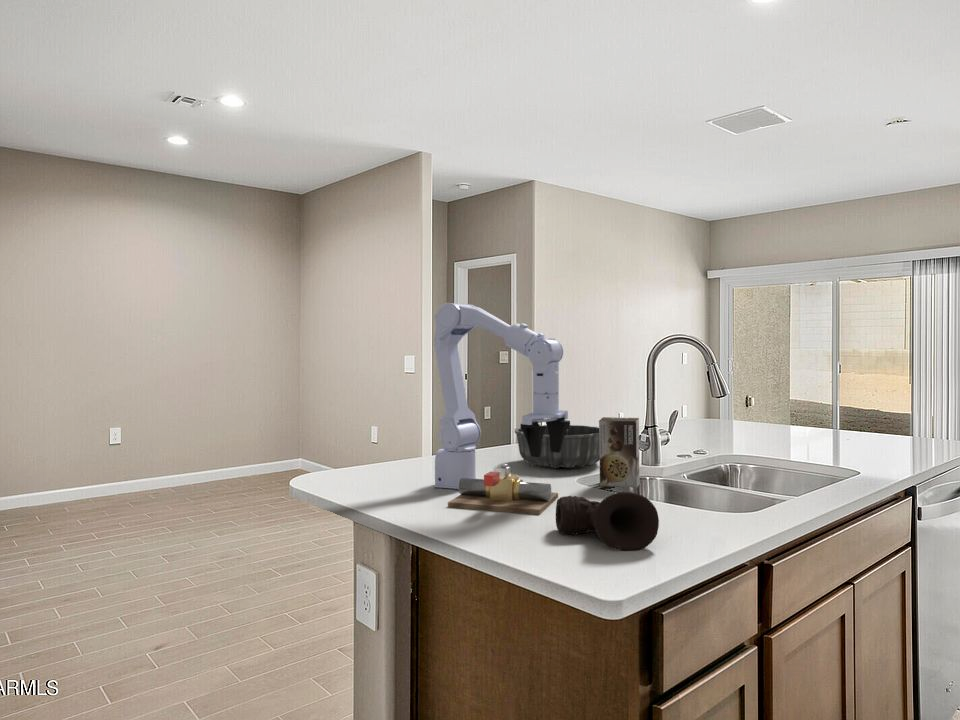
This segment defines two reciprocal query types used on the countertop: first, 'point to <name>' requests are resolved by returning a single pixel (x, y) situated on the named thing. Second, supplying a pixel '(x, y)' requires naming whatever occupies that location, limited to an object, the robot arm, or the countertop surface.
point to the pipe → (610, 519)
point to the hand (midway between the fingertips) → (545, 454)
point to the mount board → (502, 504)
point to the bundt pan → (564, 448)
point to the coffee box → (619, 452)
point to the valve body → (506, 489)
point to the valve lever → (496, 475)
